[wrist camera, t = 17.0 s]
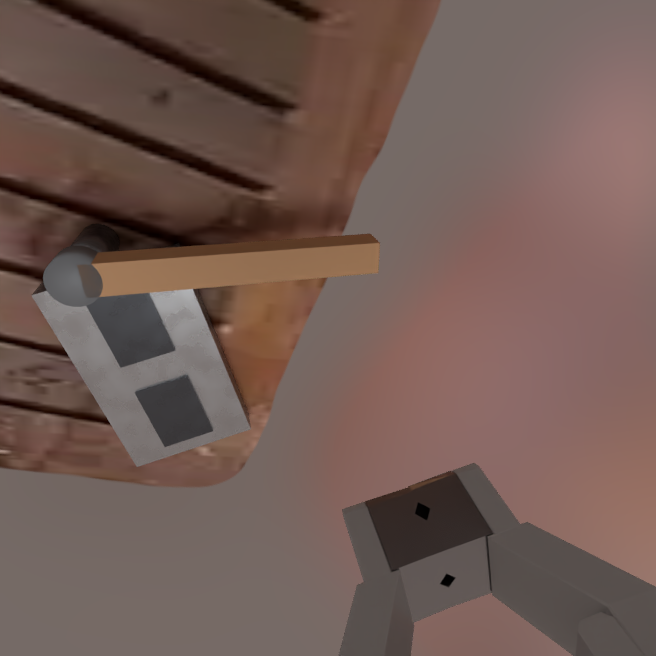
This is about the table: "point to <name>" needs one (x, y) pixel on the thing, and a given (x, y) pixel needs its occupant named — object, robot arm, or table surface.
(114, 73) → the table surface
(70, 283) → the swing bar
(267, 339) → the table surface
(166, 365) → the block
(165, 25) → the table surface
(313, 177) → the table surface
